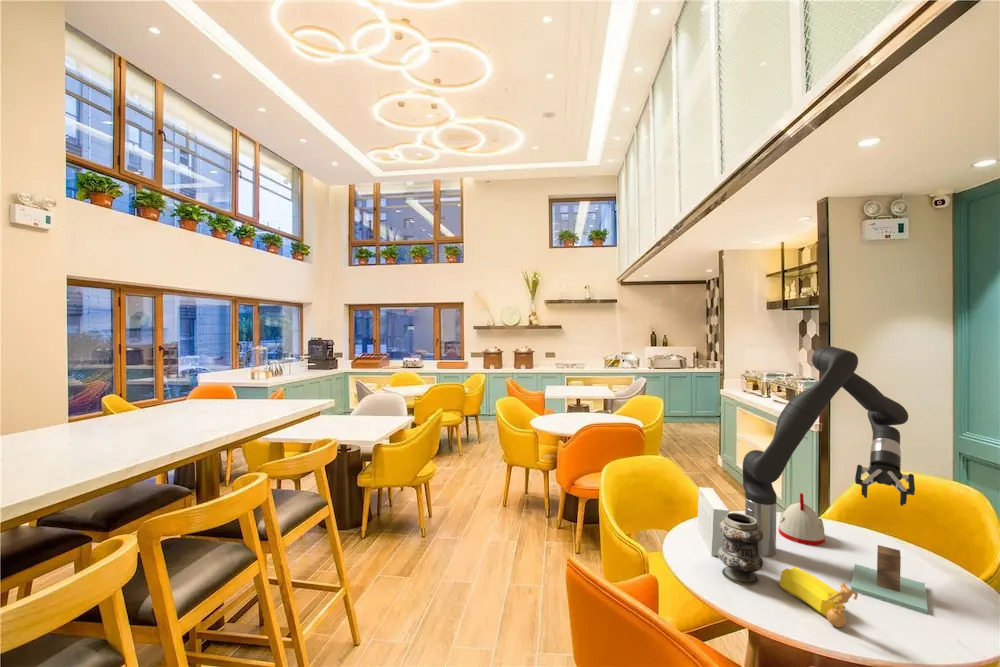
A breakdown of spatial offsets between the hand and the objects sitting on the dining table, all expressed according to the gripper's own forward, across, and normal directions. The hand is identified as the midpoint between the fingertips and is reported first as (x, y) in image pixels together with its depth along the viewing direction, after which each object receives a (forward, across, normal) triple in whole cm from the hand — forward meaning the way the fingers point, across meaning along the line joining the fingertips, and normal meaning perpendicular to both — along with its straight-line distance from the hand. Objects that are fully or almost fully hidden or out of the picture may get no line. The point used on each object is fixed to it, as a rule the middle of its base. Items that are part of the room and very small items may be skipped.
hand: (883, 500), depth 138 cm
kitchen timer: (+8, -22, +24) cm, 34 cm away
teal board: (+23, +2, +8) cm, 25 cm away
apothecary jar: (+39, -32, -6) cm, 51 cm away
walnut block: (+22, +2, +8) cm, 24 cm away
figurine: (+45, -7, -12) cm, 47 cm away
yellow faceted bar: (+39, -14, -6) cm, 42 cm away
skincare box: (+27, -45, +7) cm, 53 cm away
